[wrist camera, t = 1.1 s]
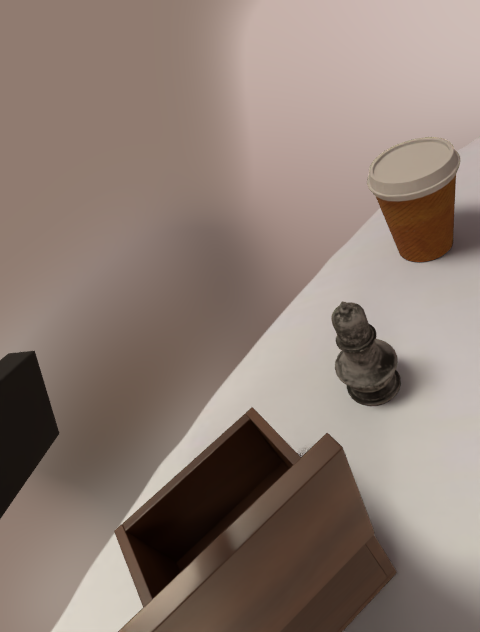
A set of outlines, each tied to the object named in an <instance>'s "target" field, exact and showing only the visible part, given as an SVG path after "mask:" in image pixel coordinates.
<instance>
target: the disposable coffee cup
mask: <svg viewBox="0 0 480 632" xmlns="http://www.w3.org/2000/svg"><path fill="white" fill-rule="evenodd" d="M459 165H460V156H459V154H458V152H456V151H455V150H454V147H453V145H452V144H451V143H450V142H449V141H447V140H445V139H442V138H436V137H425V138H418V139H413V140H410V141H406V142H404V143H401V144H398V145H395V146H393V147H391V148H390V149H388V150H386V151H385V152H383V153H382V154H381V155H379V156H378V157H377V158H376V159H375V160H374V161H373V162H372V164H371V166H370V169H369V176H368V179H367V185H368V187H369V189H370V191H371V192H373V194H374V195H375V196H376V198H377V200H378V203H379V205H380V208H381V210H382V212H383V215H384V217H385V220H386V222H387V224H388V227H389V229H390V231H391V234H392V236H393V239H394V241H395V243H396V246H397V248H398V251H399V253H400V255H401V256H402V257H403V258H405V259H406V260H409V261H414V262H425V261H430V260H434V259H437V258H439V257H441V256H443V255H444V254H445V253H447V252H448V251H449V250H450V248H451V247H452V244H453V228H454V204H455V183H456V173H457V170H458V168H459Z"/></svg>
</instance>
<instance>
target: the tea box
mask: <svg viewBox="0 0 480 632" xmlns="http://www.w3.org/2000/svg"><path fill="white" fill-rule="evenodd" d="M300 458H301V457H300V456H299V455H298V454H297V453H296V452H295V451H294V450H293V449H292V448H291V447H290V446H289V445H288V444H287V443H286V441H285V440H284V439H283V438H282V437H281V436H280V435H279V434H278V433H277V432H276V431H275V430H274V429H273V428H272V427H271V426H270V425H269V424H268V423H267V422H266V421H265V420H264V419H263V418H262V417H261V416H260V415H259V414H258V412H257V411H256V410H255V409H254V408H253V407H252V408H251V409H250V410H248V411H247V412H246V414H244V415H243V416H242V417H241V418H240V419H239V420H238V421H236V422H235V423H234V424H233V425H232V426H231V427H230V428H229V429H227V430H226V431H225V432H224V433H223V434H222V435H221V436H220V437H219V438H217V439H216V440H215V441H214V442H213V443H212V444H211V445H210V446H209V447H207V448H206V449H205V450H204V451H203V452H202V453H201V454H200V455H199V456H197V457H196V458H195V459H194V460H193V461H192V462H191V463H190V464H188V465H187V466H186V467H185V468H184V469H183V470H182V471H181V472H180V473H178V474H177V475H176V476H175V477H174V478H173V479H172V480H171V481H170V482H168V483H167V484H166V485H165V486H164V487H163V488H162V489H161V490H160V491H158V492H157V493H156V494H155V495H154V496H153V497H152V498H151V499H149V500H148V501H147V502H146V503H145V504H144V505H143V506H142V507H141V508H139V509H138V510H137V511H136V512H135V513H134V514H133V515H132V516H131V517H129V518H128V519H127V520H126V521H125V522H124V523H123V525H120V526H119V527H118V528H117V529H116V530H115V531H114V532H115V535H116V537H117V540H118V542H119V545H120V548H121V550H122V553H123V555H124V558H125V561H126V563H127V566H128V568H129V571H130V574H131V576H132V579H133V581H134V584H135V587H136V589H137V592H138V595H139V597H140V600H141V602H142V605H143V608H144V607H145V606H146V605H147V604H148V603H149V602H150V601H151V600H152V599H153V598H154V597H155V596H156V595H157V594H158V593H159V592H160V591H161V590H163V589H164V588H165V587H166V586H167V585H168V584H169V583H170V582H171V581H172V580H173V579H174V578H175V577H176V576H177V575H178V574H179V573H180V572H181V571H182V570H184V569H185V568H186V567H187V566H188V565H189V564H190V563H191V562H192V561H193V560H194V559H195V558H196V557H197V556H198V555H199V554H200V553H201V552H202V551H203V550H205V549H206V548H207V547H208V546H209V545H210V544H211V543H212V542H213V541H214V540H215V539H216V538H217V537H218V536H219V535H220V534H221V533H222V532H223V531H225V530H226V529H227V528H228V527H229V526H230V525H231V524H232V523H233V522H234V521H235V520H236V519H237V518H238V517H239V516H240V515H241V514H242V513H243V512H244V511H246V510H247V509H248V508H249V507H250V506H251V505H252V504H253V503H254V502H255V501H256V500H257V499H258V498H259V497H260V496H261V495H262V494H263V493H264V492H265V491H267V490H268V489H269V488H270V487H271V486H272V485H273V484H274V483H275V482H276V481H277V480H278V479H279V478H280V477H281V476H282V475H283V474H284V473H285V472H287V471H288V470H289V469H290V468H291V467H292V466H293V465H294V464H295V463H296V462H297V461H298V460H299V459H300ZM396 573H397V572H396V570H395V568H394V566H393V565H392V563H391V562H390V560H389V558H388V557H387V555H386V553H385V552H384V550H383V549H382V547H381V545H380V544H379V542H378V540H377V539H376V537H375V536H374V535H373V536H372V537H371V538H370V539H369V540H368V541H367V542H366V543H365V544H364V545H363V546H362V547H361V548H360V549H359V551H358V552H357V553H356V554H355V555H354V556H353V557H352V558H351V559H350V560H349V561H348V562H347V563H346V564H345V565H344V566H343V567H342V568H341V569H340V570H339V571H338V572H337V573H336V574H335V575H334V577H333V578H332V579H331V580H330V581H329V582H328V583H327V584H326V585H325V586H324V587H323V588H322V589H321V590H320V591H319V592H318V593H317V594H316V595H315V596H314V597H313V598H312V599H311V600H310V601H309V602H308V604H307V605H306V606H305V607H304V608H303V609H302V610H301V611H300V612H299V613H298V614H297V615H296V616H295V617H294V618H293V619H292V620H291V621H290V622H289V623H288V624H287V625H286V626H285V627H284V628H283V630H282V631H281V632H342V631H343V630H344V629H345V628H346V627H347V626H348V625H349V624H350V623H351V622H352V621H353V619H354V618H355V617H356V616H357V615H358V614H359V613H360V612H361V611H362V610H363V609H364V608H365V607H366V605H367V604H368V603H369V602H370V601H371V600H372V599H373V598H374V597H375V596H376V595H377V594H378V593H379V591H380V590H381V589H382V588H383V587H384V586H385V585H386V584H387V583H388V582H389V581H390V580H391V579H392V577H393V576H394V575H395V574H396Z"/></svg>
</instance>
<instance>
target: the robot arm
mask: <svg viewBox="0 0 480 632" xmlns="http://www.w3.org/2000/svg"><path fill="white" fill-rule="evenodd" d="M58 435H59V431H58V428H57V424H56V421H55V417H54V414H53V411H52V407H51V404H50V401H49V397H48V394H47V391H46V387H45V384H44V381H43V377H42V374H41V371H40V367H39V364H38V360H37V357H36V354H35V351H29V352H19V353H10V354H7V355H6V356H5V357H4V358H2V359H1V360H0V518H1V517H2V516H3V514H4V513H5V511H6V510H7V508H8V507H9V506H10V504H11V502H12V501H13V499H14V498H15V497H16V495H17V494H18V492H19V491H20V490H21V488H22V487H23V485H24V484H25V482H26V481H27V479H28V478H29V477H30V475H31V474H32V472H33V471H34V469H35V468H36V466H37V465H38V463H39V462H40V461H41V459H42V458H43V456H44V455H45V453H46V452H47V450H48V449H49V448H50V446H51V445H52V443H53V442H54V440H55V439H56V438H57V436H58Z"/></svg>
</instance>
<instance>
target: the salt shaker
mask: <svg viewBox="0 0 480 632" xmlns="http://www.w3.org/2000/svg"><path fill="white" fill-rule="evenodd" d="M332 323H333V326H334V328H335V331H336V333H337V337H336V344H337V346H338V347H339V349H341V350H342V351H341V352H340V354H339V355H338V357H337V359H336V362H335V370H336V374H337V376H338V377H339V379H340V380H341V381H342V382H343V383H345V384H346V385H347V389H348V393H349V395H350V396H351V397H352V399H354V400H355V401H356V402H358V403H360V404H362V405H367V406H377V405H381V404H384V403H386V402H388V401H390V400H391V399H392V398H393V397H394V396H395V395H396V394H397V392H398V391H399V388H400V385H401V381H400V376H399V374H398V372H397V370H396V367H397V355H396V352H395V350H394V349H393V348H392V347H391V346H390V345H389V344H388V343H386V342H384V341H382V340H378V339H376V331H375V328H374V327H373V326H372V325H370V324H368V321H367V318H366V315H365V312H364V310H363V308H362V307H361V306H360V305H358V304H355V303H346V302H341V304H340V306H338V307H337V308H336V309H335V310H334V312H333V314H332Z"/></svg>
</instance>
